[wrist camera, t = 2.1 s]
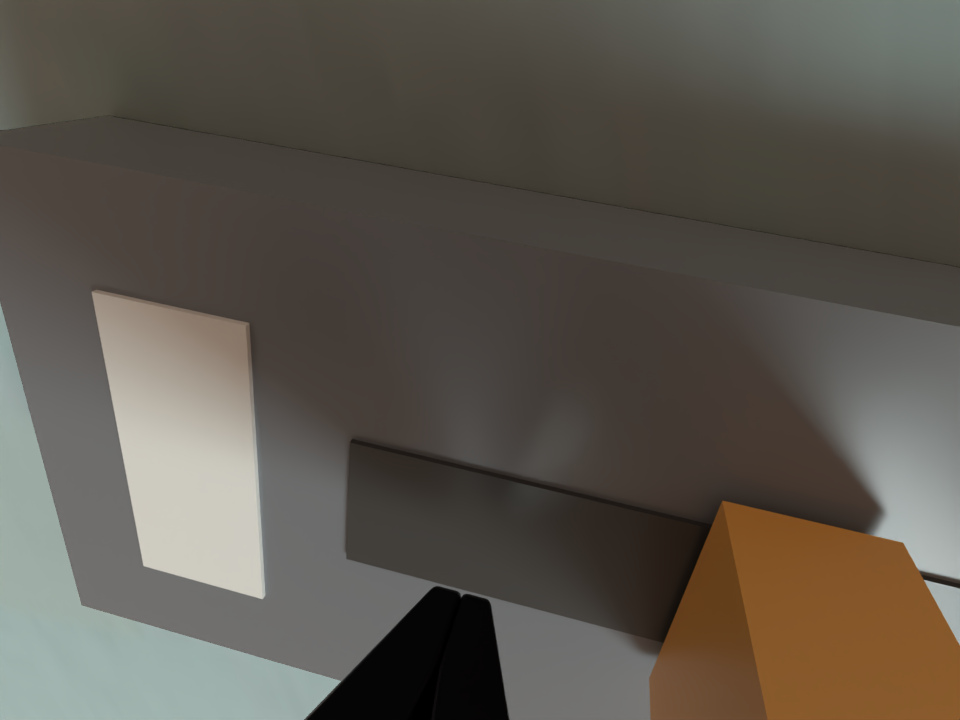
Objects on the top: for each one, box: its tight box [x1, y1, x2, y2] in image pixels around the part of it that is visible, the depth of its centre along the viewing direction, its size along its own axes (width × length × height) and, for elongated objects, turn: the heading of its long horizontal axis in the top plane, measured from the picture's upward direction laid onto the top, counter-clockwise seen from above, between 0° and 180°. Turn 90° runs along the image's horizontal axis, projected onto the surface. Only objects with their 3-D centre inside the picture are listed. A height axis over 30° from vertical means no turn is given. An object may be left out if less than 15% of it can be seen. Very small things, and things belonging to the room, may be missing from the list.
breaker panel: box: [0, 116, 960, 720], centre depth 11 cm, size 24×10×3 cm, turn 83°
